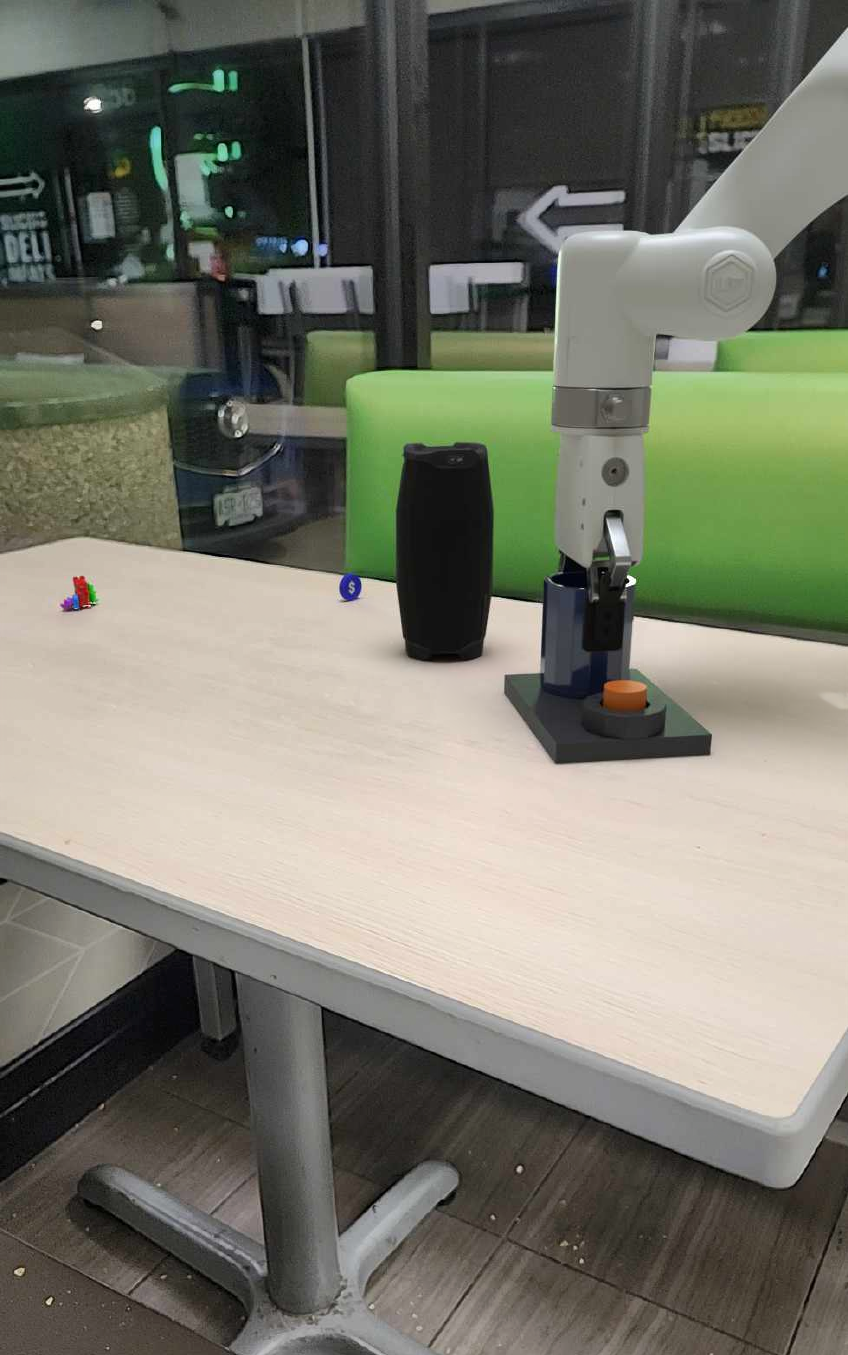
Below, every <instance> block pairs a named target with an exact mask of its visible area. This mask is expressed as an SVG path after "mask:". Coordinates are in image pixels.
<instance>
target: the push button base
mask: <svg viewBox="0 0 848 1355" xmlns="http://www.w3.org/2000/svg"><path fill="white" fill-rule="evenodd" d="M503 679H504V680H503V681H504V683H503V684H504V685H503V693H504V695H505V696H506V698H507V699H508V700H509V702H510V703H511V705H512V706H513V707H514V709H515V710H516V711H517V713H518V714H519V716H520V717H521V718H522V720H523V721H524V723H525V724H526V725H527V727H528V728H529V729H530V731H531V732H532V734H533V735H534V736H535V738H536V739H537V741H538V742H539V744H540V745H541V746H542V749H544V751H545V752H546V753H547V755H548V756H549V758H550V759H551V760H552V761H553V763H554V764H555V765H562V764H563V765H564V764H580V763H596V762H597V763H599V762H615V761H633V760H635V761H636V760H650V759H651V760H652V759H665V758H666V759H668V758H684V757H685V758H686V757H703V756H711V749H712V740H713V739H712V738H713V734H712V733H711V732H710V731H709V730H708V729H706V728H705V727H704V726H703V725H702V724H701V723H699V722H698V721H697V720H696V719H695V718H694V717H693V716H691V715H690V714H689V713H688V712H687V711H686V710H685V709H683V708H682V707H681V706H680V705H679V704H678V703H677V702H675V701H674V700H673V699H672V698H670V697H669V696H668V695H667V694H666V693H665V692H664V691H662V689H661V688H660V687H658V686H657V685H656V684H655V683H654V682H652V681H651V680H650V679H649V678H648V677H647V676H646V675H644V674H643V673H642V672H641V671H640V670H638V669H637V668H630V679H629V680H630V681H636V682H640V683H643V684H645V685H646V686H647V696H646V708H645V709H643V710H639V711H617V710H611V709H608V708H605V707H603V696H604V692H602V693H598V694H595V695H591V696H588V697H587V698H586V699H576V698H568V697H562V696H558V695H554V694H551V693H549V692H547V691H545V690H543V689H542V687H541V685H540V682H541V679H540V672H533V673H513V674H512V673H511V674H504V678H503Z"/></svg>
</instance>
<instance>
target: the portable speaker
mask: <svg viewBox="0 0 848 1355" xmlns="http://www.w3.org/2000/svg"><path fill="white" fill-rule="evenodd" d="M401 456H402V457H403V464H402V467H401V474H400V479H399V480H400V481H399V487H398V493H397V499H396V506H395V586H396V593H397V601H398V602H397V603H398V609H399V617H400V622H401V623H400V624H401V632H402V639H403V640H404V648H405V654H407V656H408V657H409V658H411V659H414V660H419V661H422V662H425V661H429V660H431V657H432V655H454V654H455V655H456V654H457V655H459V657H460V659H461V660H462V661H473V660H475V659H477V658H479V657H482V655H483V652H484V651H483V650H484V643H485V638H486V637H487V636H486V635H487V630H488V623H489V614H490V609H491V602H492V594H493V587H494V586H493V582H494V581H493V580H494V579H493V578H494V577H493V576H494V532H495V531H494V530H495V528H494V527H495V520H494V519H495V508H494V499H493V492H492V491H493V490H492V484H491V483H492V482H491V473H490V466H489V464H490V463H489V453H488V449H487V447H486V444H484V443H479V442H462V441H461V442H459V441H456V442H454V444H452V445H440V446H439V445H437V446H427V445H426V444H424V443H423V442H412V443H405V445H403V453H402V454H401Z"/></svg>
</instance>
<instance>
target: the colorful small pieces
mask: <svg viewBox="0 0 848 1355" xmlns="http://www.w3.org/2000/svg"><path fill="white" fill-rule="evenodd" d="M72 583H73V588H74V594H72V595H71V596H67V597H66V598H64V599H63V602H61V603H60V607H61V608H62V609H63V610H64V611H65V610H67V609H68V610H70V609H71V608H72V610H74V609H75V608H77V609H76V610H80V608H79V607H83V606H84V605H91V603H90V602H92V603H93V602H97V601H98V600H99V598H97V597H96V595H97V590H96V589H94V585H93V584H92V583H90V582H88V581H86V577H85V576H84V575H80V576H79V577H78V576H73V577H72ZM99 601H100V600H99ZM72 606H73V607H72ZM91 606H92V605H91ZM70 607H71V608H70ZM69 608H70V609H69ZM68 610H67V611H68Z"/></svg>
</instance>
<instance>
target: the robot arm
mask: <svg viewBox="0 0 848 1355" xmlns="http://www.w3.org/2000/svg"><path fill="white" fill-rule="evenodd" d="M846 196H848V27H846V29H845V30H844V31H843V32H842V33H841V35H840V36H838V39H836V41H835V42H834V43H833V45H831V47H830V48H829V49H828V50H827V51H826V53H825V54H824V55H823V56H822V58H821V59H820V60H819V61H818V62H817V63H816V65H814V67H813V68H812V69H811V70H810V71H809V73H807V75H806V76H805V78H804V79H803V80H801V82H800V83H799V84H798V86H796V87H795V89H793V91H792V92H791V93H790V94H789V96H788V97H787V98H786V99H785V100H784V101H783V103H782V104H781V105H780V106H779V108H778V109H777V110H776V111H775V113H774V114H773V115H772V116H771V118H770V119H769V120H768V121H767V122H766V123H765V125H764V126H763V127H762V128H761V129H760V131H759V132H758V133H757V134H756V135H755V136H754V138H752V140H750V142H749V143H748V144H747V145H746V146H745V148H744V149H743V150H742V151H741V152H740V153H739V154H738V156H736V158H735V159H734V160H733V161H732V162H731V163H730V164H729V165H728V166H727V168H726V169H725V170H724V171H723V172H722V174H721V175H720V176H719V177H718V178H717V179H716V181H715V182H714V183H713V184H712V185H711V187H709V189H708V190H707V191H706V193H704V195H703V196H702V197H701V199H700V200H699V201H698V202H697V203H696V205H694V207H693V208H692V209H691V211H690V212H689V213H688V214H687V215H686V217H685V218H684V219H683V220H682V222H681V223H680V224H679V225H678V227H676V229H675V230H674V231H673V232H671V233H670V232H669V233H658V234H649V233H647V232H642V231H637V230H592V231H591V230H590V231H581V232H577V233H574V234H572V235H569V236H568V237H567V238H565V240H563V242H562V243H561V246H560V248H559V250H558V251H559V252H558V257H557V268H556V269H557V270H556V289H555V290H556V292H555V315H554V316H555V317H554V318H555V319H554V340H553V341H554V342H553V362H552V365H553V366H552V371H553V375H552V389H551V391H552V392H551V410H550V411H551V414H550V432H551V433H554V434H560V442H559V451H558V453H557V454H558V461H557V471H556V472H557V473H556V484H555V497H554V498H555V499H554V500H555V501H554V519H553V520H554V523H553V524H554V528H553V529H554V532H553V533H554V543H555V545H556V548H557V549H558V553H559V555H560V557H559V561H558V565H557V573H560V572H568V571H586V574H587V585H588V595H589V601H584V612H583V630H582V649H583V650H585V651H586V652H597V651H618V650H620V649H621V648H622V641H623V627H624V613H625V601H626V598H627V590H626V585H627V583H628V581H629V578H627V577H628V576H629V572H630V570H631V567H637V566H639V564H640V563H641V561H642V560H643V554H644V537H645V536H644V531H645V502H646V501H645V500H646V465H645V464H646V462H645V461H646V460H645V446H644V436H643V435H645V434H648V433H649V431H650V430H649V429H650V417H651V416H650V414H651V402H652V386H653V377H654V376H653V374H654V362H655V349H656V336H657V335H666V336H673V337H676V338H680V339H684V340H695V341H699V342H700V341H701V342H720V341H725V340H726V341H727V340H729V339H733V338H736V337H738V336H740V335H741V334H743V333H745V332H747V331H748V330H750V329H751V328H752V327H754V326H755V325H756V324H757V323H758V322H759V321H760V319H762V317H763V316H764V315H765V313H766V312H767V311H768V308H769V307H770V305H771V303H772V301H773V298H774V295H775V292H776V288H777V287H776V286H777V269H776V263H775V261H774V260H775V259H776V258H777V256H778V255H779V254H780V253H781V252H782V251H783V250H784V249H785V248H786V247H787V246H788V245H789V243H791V241H792V240H794V239H795V238H796V237H797V235H799V234H800V233H801V232H802V231H803V230H804V229H805V228H806V227H807V226H808V225H809V224H811V222H813V221H814V220H815V219H816V218H818V217H819V216H820V215H821V214H822V213H823V212H825V211H826V210H828V209H829V208H830V207H832V206H833V205H834V204H836V203H837V202H839V201H840V200H841V199H843V198H845V197H846ZM600 558H601V559H602V558H604V559H605V558H609V559H606V560H603V559H602V560H596V559H600ZM597 572H604V573H603V575H602V576H601V579H600V582H599V584H598V575H597Z"/></svg>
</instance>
